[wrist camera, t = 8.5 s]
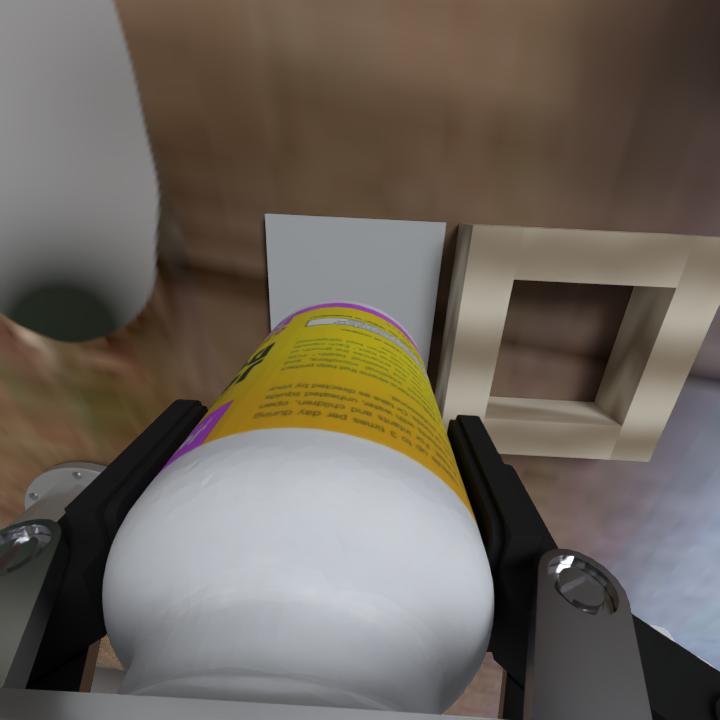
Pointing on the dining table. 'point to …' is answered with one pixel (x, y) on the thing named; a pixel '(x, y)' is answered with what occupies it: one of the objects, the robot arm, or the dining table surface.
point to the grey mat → (356, 267)
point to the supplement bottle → (308, 536)
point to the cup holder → (630, 351)
